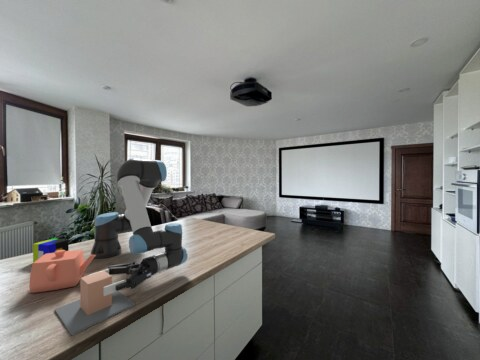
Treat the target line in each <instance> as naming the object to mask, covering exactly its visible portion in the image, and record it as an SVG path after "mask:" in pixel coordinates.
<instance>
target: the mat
mask: <svg viewBox="0 0 480 360" xmlns="http://www.w3.org/2000/svg"><path fill="white" fill-rule="evenodd" d="M134 306H136V302H134V301H133V300H132V299H130V298H129V297H127V295H125V294H124V293H122V292H121V291H120V290H119V291H116V292H114V293H112V305H111V306H108V307H106V308H104V309H101V310H99V311H97V312H95V313H92V314H90V315H87V314H86V313H85V312H84V311H83V309H82V308H81V307H80V299H77V300H75V301H72V302H70V303H66V304H64V305H60V306H59V307H56V308H54V312H55V313H56V315H57V316H58V318H59V319H60V321H61V322H62V324H63V325H64V326H65V328H66V330H67V331H68V332H70V333H69V334H70V335H72V336H74V335H76V334H78V333H80V332H82V331H84V330H86V328H87V329H89V328H91V327H93V326H95V325H97V324H99V323H101V322H103V321H105V320H107V319H109V317H110V318H111V316H112V317H114V316H115V314H116V315H118V314H120V313H123V312H124V311H126V310H129V309H130V308H133V307H134ZM119 312H120V313H119ZM117 313H118V314H117ZM113 315H114V316H113ZM102 320H103V321H102ZM100 321H101V322H100ZM98 322H99V323H98ZM96 323H97V324H96ZM94 324H95V325H94ZM92 325H93V326H92ZM90 326H91V327H90ZM88 327H89V328H88ZM79 331H80V332H79ZM77 332H78V333H77ZM75 333H76V334H75ZM73 334H74V335H73Z"/></svg>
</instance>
